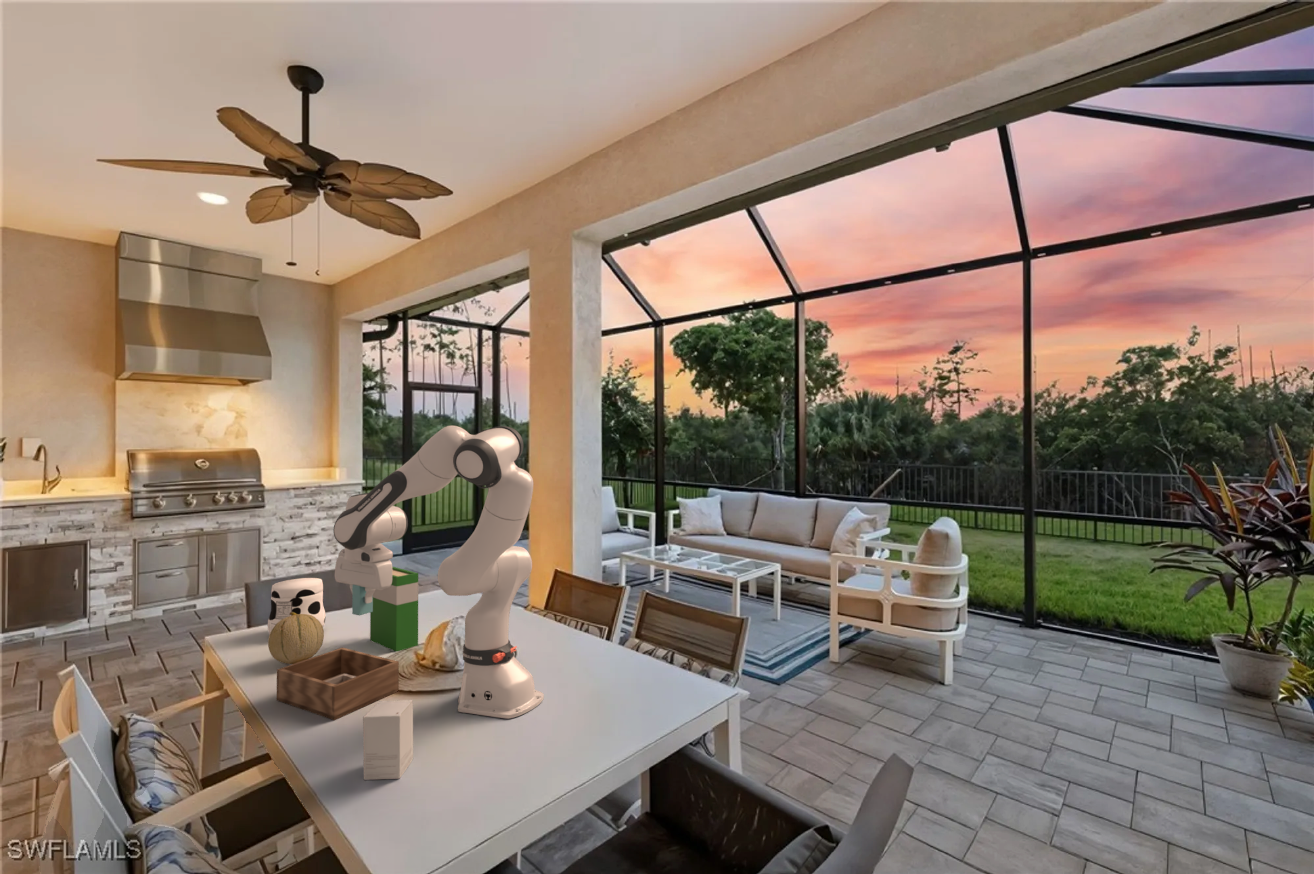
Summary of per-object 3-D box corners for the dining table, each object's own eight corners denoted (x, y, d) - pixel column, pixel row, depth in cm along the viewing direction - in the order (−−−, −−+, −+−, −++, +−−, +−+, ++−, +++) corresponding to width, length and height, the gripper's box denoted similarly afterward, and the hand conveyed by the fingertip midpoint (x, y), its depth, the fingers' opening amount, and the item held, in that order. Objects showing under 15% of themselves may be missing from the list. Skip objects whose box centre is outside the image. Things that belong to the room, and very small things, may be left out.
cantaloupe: (297, 673, 164) (297, 622, 164) (255, 669, 167) (255, 619, 167) (335, 655, 178) (335, 607, 179) (296, 651, 181) (296, 605, 182)
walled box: (398, 691, 152) (398, 661, 152) (334, 720, 136) (334, 686, 136) (342, 675, 163) (342, 647, 163) (276, 700, 147) (276, 669, 147)
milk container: (321, 622, 211) (321, 574, 212) (329, 634, 198) (329, 583, 198) (265, 632, 200) (265, 582, 201) (270, 645, 187) (270, 591, 187)
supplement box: (414, 758, 119) (414, 698, 119) (399, 779, 112) (399, 715, 112) (379, 759, 119) (379, 699, 119) (361, 780, 111) (362, 716, 111)
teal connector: (372, 611, 156) (372, 582, 156) (359, 615, 153) (359, 586, 153) (365, 610, 158) (366, 581, 158) (352, 613, 154) (352, 584, 154)
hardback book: (370, 640, 192) (370, 570, 192) (391, 634, 198) (391, 566, 198) (396, 651, 181) (396, 577, 182) (418, 645, 187) (418, 573, 188)
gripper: (328, 549, 157) (328, 599, 157) (376, 557, 148) (375, 609, 148) (350, 546, 163) (349, 594, 163) (397, 552, 153) (396, 603, 153)
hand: (362, 601), depth 155 cm, fingers closed on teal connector, 3 cm apart
